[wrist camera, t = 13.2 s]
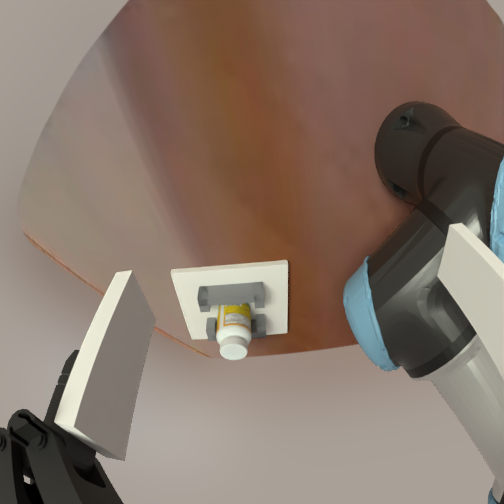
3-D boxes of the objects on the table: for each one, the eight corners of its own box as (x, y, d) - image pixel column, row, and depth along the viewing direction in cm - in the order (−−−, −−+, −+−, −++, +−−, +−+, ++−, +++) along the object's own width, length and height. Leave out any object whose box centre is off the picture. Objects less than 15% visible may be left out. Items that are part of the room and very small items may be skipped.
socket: (287, 259, 44) (290, 276, 41) (286, 328, 53) (289, 345, 50) (171, 269, 44) (167, 285, 41) (192, 335, 53) (190, 351, 50)
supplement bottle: (234, 289, 46) (234, 335, 38) (256, 307, 48) (260, 352, 40) (211, 306, 47) (207, 351, 39) (233, 322, 50) (233, 366, 42)
